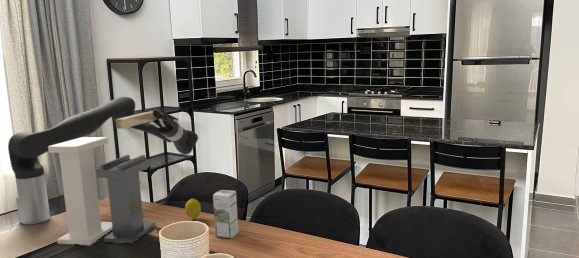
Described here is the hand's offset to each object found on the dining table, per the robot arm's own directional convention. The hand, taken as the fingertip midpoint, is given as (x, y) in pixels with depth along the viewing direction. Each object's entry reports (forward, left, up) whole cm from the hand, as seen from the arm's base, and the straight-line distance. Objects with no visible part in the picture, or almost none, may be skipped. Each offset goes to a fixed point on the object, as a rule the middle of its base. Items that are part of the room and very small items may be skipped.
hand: (149, 112), depth 158 cm
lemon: (+16, -4, -39) cm, 42 cm away
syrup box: (+33, -16, -39) cm, 54 cm away
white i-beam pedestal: (-14, -21, -39) cm, 46 cm away
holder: (0, -19, -39) cm, 43 cm away
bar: (0, -7, -3) cm, 8 cm away
